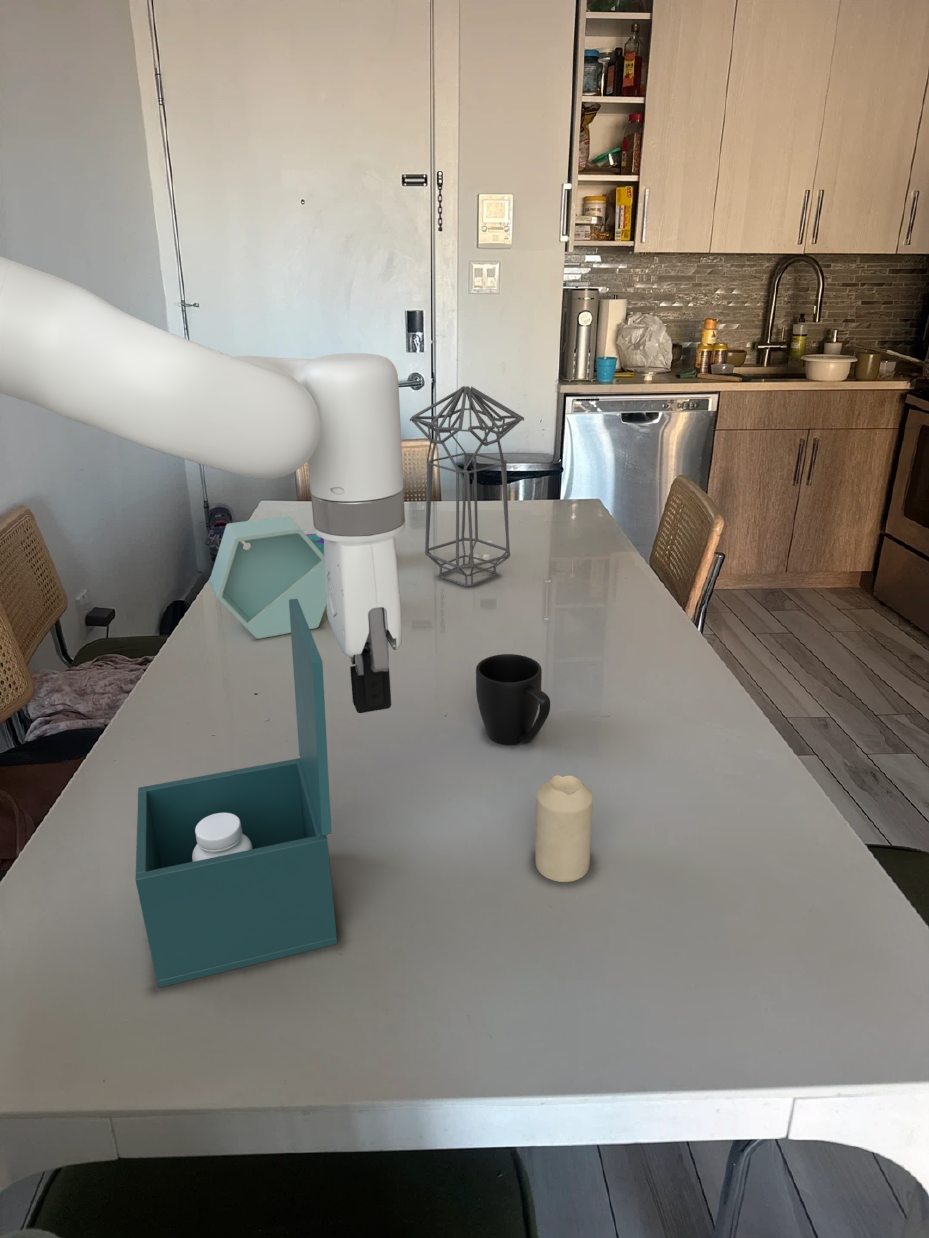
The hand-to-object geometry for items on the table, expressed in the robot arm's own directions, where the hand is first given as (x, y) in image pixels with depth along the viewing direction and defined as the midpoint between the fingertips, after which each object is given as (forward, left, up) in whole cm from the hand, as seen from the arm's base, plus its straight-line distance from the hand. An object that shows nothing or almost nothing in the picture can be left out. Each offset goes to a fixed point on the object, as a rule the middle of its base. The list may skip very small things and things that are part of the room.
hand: (372, 706), depth 79 cm
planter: (-40, +54, -20) cm, 70 cm away
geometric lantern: (-15, +84, -20) cm, 87 cm away
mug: (+7, +29, -20) cm, 36 cm away
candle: (+17, +7, -20) cm, 27 cm away
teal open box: (-11, -8, -20) cm, 24 cm away
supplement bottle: (-12, -8, -19) cm, 24 cm away
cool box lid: (-5, -3, 0) cm, 6 cm away
